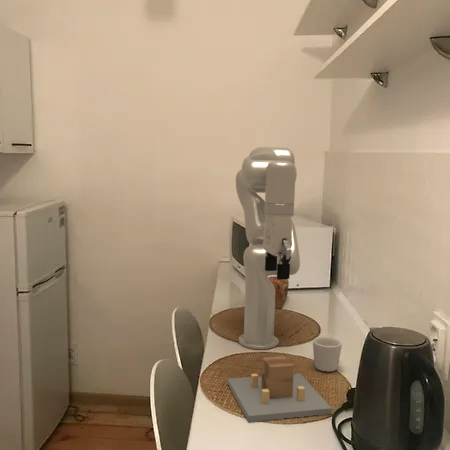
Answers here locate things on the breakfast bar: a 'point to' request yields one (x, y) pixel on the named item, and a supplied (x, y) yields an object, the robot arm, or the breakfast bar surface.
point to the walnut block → (277, 376)
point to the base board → (277, 400)
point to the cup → (326, 353)
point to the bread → (280, 291)
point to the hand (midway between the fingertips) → (276, 274)
